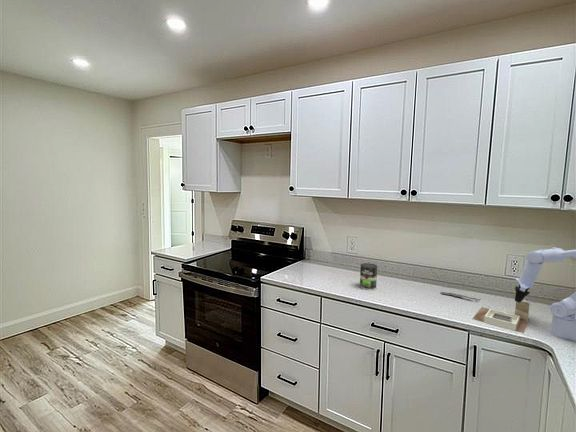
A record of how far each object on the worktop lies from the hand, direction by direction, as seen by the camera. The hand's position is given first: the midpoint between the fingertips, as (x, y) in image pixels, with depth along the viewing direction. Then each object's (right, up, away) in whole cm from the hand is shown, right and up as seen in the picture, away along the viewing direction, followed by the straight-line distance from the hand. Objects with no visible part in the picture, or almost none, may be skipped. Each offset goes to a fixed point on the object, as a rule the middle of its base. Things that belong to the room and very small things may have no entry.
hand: (518, 298), depth 149 cm
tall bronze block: (+2, -10, 0) cm, 10 cm away
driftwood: (-12, -8, +30) cm, 33 cm away
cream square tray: (-11, -11, -4) cm, 16 cm away
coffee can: (-61, -5, +44) cm, 76 cm away
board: (-9, -10, 0) cm, 14 cm away
